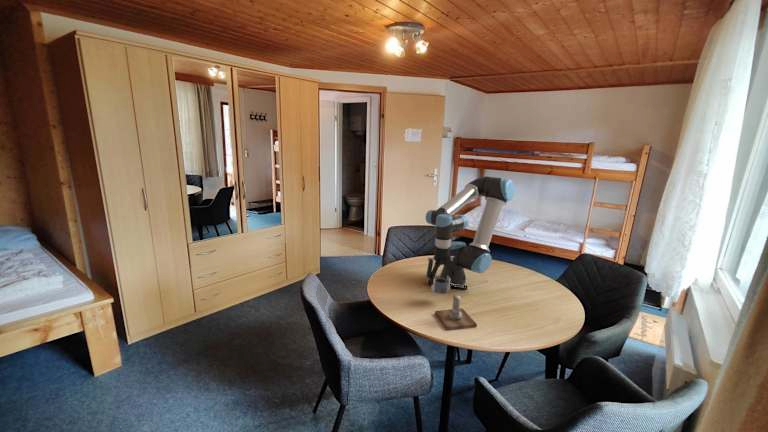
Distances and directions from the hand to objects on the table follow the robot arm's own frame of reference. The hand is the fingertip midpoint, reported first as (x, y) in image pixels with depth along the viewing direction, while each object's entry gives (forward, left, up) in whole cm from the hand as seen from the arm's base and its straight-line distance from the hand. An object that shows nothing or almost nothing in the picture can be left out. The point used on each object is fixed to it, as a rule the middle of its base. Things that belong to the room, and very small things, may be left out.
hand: (440, 289), depth 164 cm
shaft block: (0, +17, -7) cm, 19 cm away
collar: (0, 0, 0) cm, 0 cm away
